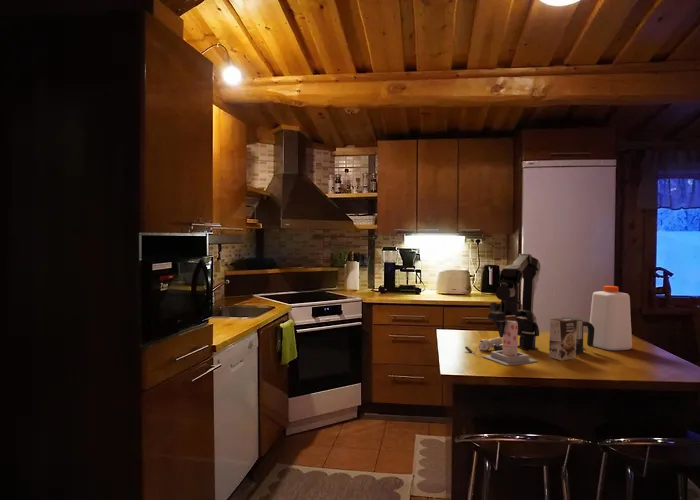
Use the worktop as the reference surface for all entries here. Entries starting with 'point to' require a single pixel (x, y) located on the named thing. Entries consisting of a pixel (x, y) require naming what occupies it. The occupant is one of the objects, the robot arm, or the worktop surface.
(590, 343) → the milk frother
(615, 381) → the worktop surface
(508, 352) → the beverage can
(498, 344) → the clip-on lamp
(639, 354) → the worktop surface
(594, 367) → the worktop surface
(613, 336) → the plastic bottle
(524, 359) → the grey plate with frame
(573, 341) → the coffee box
